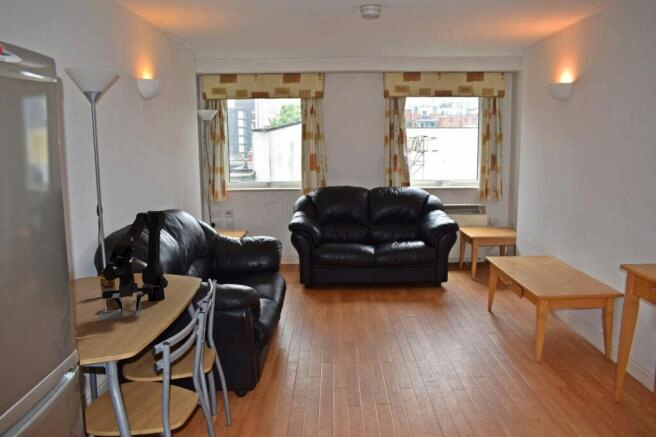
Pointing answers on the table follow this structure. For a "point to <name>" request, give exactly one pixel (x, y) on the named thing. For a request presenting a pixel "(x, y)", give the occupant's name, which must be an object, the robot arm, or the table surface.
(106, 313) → the grey base plate
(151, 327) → the table surface
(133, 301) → the birch block
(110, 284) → the condiment
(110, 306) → the walnut block
